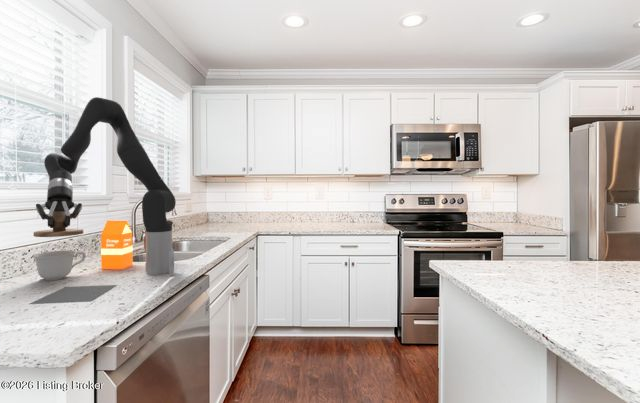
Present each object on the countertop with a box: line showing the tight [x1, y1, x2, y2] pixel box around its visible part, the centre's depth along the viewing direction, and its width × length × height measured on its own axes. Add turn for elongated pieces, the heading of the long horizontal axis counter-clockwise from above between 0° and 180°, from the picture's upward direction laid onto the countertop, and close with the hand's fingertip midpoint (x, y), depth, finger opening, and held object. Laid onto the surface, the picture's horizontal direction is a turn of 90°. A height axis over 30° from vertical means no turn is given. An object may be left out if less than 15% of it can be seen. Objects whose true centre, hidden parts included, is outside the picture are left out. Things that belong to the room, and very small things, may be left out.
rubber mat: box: [29, 284, 118, 305], centre depth 98 cm, size 16×16×1 cm
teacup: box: [32, 250, 86, 281], centre depth 116 cm, size 12×15×10 cm
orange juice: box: [100, 220, 134, 270], centre depth 136 cm, size 8×9×20 cm
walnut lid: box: [33, 212, 84, 238], centre depth 115 cm, size 14×14×8 cm
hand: (59, 226), depth 113 cm, fingers closed on walnut lid, 3 cm apart
